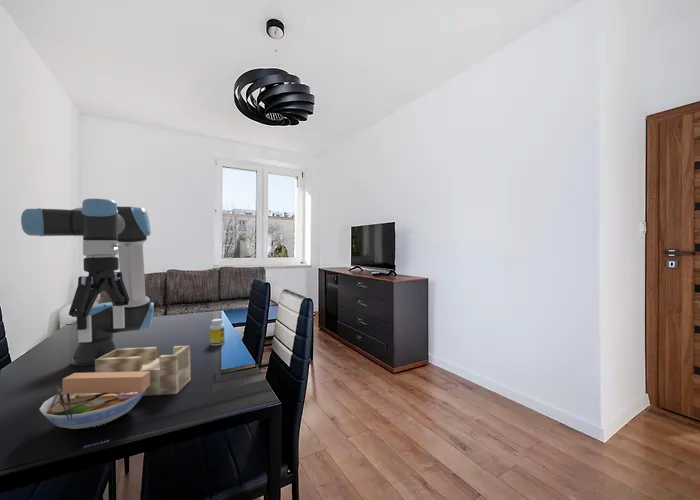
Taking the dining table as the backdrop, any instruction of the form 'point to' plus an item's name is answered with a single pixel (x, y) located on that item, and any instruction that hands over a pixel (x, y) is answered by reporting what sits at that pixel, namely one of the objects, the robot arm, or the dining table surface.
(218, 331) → the pill bottle
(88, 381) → the tan block
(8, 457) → the dining table surface
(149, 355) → the box
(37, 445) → the dining table surface
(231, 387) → the dining table surface
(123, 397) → the ramen bowl
